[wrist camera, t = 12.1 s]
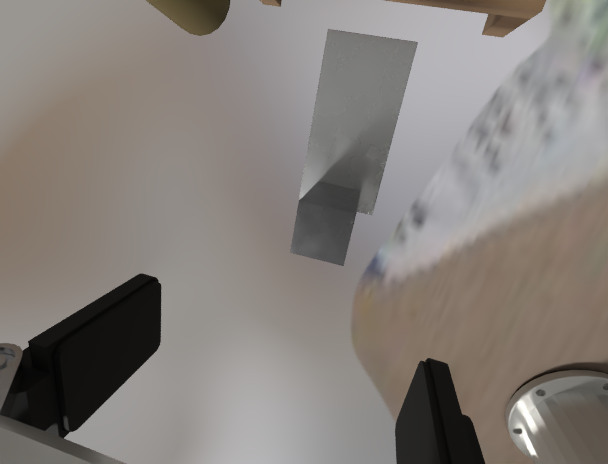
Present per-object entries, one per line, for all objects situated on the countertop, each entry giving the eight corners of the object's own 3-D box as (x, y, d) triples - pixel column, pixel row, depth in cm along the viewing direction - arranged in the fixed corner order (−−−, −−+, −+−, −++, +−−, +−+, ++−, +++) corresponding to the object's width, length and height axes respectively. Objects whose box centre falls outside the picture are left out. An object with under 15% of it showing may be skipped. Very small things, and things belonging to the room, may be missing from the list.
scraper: (367, 230, 31) (363, 271, 22) (298, 214, 32) (270, 247, 23) (415, 45, 25) (436, 7, 17) (330, 33, 26) (308, -10, 18)
